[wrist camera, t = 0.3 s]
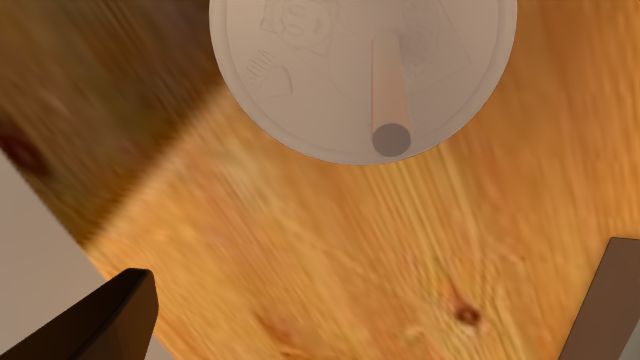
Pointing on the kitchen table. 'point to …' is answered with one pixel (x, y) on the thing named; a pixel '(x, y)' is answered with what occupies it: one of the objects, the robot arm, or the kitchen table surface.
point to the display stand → (610, 308)
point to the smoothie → (362, 70)
